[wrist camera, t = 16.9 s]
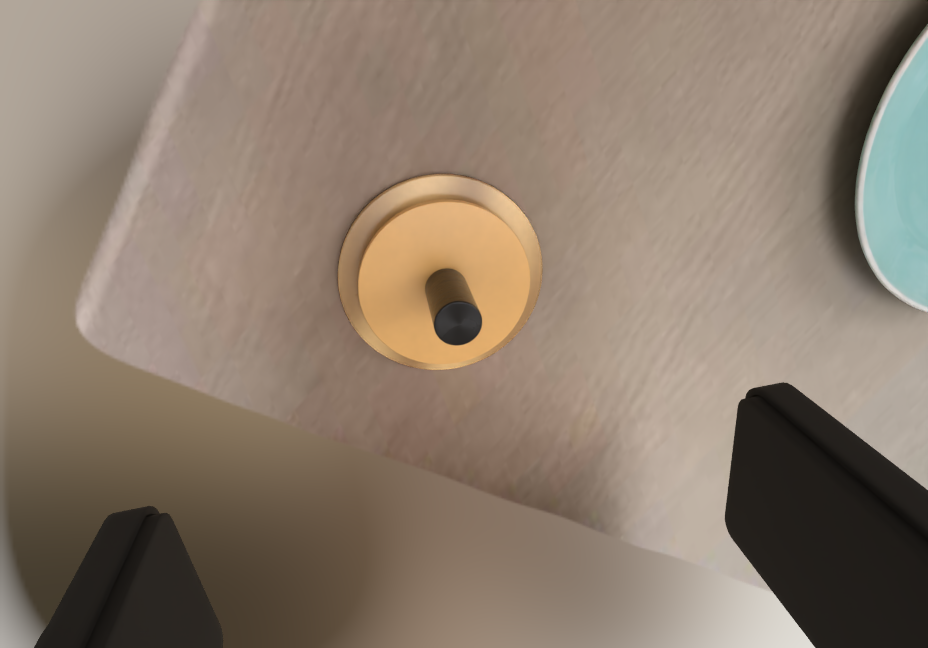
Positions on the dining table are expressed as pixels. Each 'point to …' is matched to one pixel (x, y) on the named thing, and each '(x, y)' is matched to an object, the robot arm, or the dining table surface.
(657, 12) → the dining table surface
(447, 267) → the shaker lid
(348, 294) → the coaster
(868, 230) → the plate
